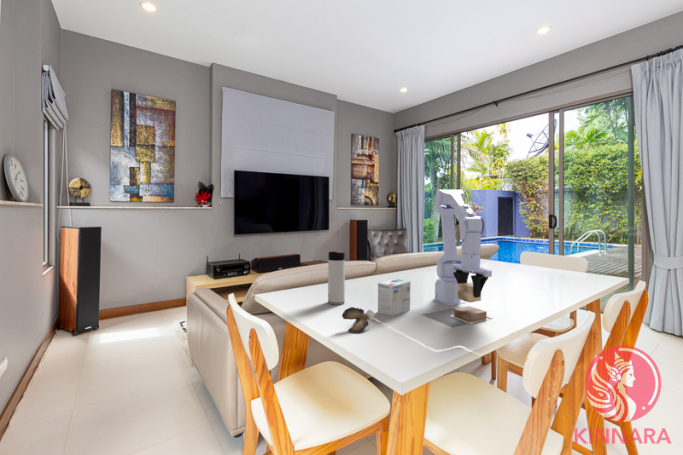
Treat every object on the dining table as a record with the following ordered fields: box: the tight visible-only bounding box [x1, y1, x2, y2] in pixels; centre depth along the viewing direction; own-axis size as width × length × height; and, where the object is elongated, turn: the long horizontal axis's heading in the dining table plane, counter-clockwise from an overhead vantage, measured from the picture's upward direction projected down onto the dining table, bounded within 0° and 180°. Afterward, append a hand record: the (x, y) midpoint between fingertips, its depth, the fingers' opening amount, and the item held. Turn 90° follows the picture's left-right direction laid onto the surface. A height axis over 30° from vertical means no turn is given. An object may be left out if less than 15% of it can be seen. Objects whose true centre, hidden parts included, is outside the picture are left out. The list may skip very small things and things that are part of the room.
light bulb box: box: [377, 278, 411, 317], centre depth 113 cm, size 11×7×11 cm, turn 134°
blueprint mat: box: [420, 306, 493, 328], centre depth 107 cm, size 14×18×1 cm
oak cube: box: [458, 281, 482, 303], centre depth 106 cm, size 5×5×5 cm
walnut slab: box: [454, 305, 488, 323], centre depth 106 cm, size 7×7×2 cm
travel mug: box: [327, 251, 346, 306], centre depth 123 cm, size 6×7×20 cm
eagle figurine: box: [341, 306, 375, 334], centre depth 97 cm, size 8×7×9 cm
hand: (469, 295), depth 106 cm, fingers closed on oak cube, 5 cm apart
